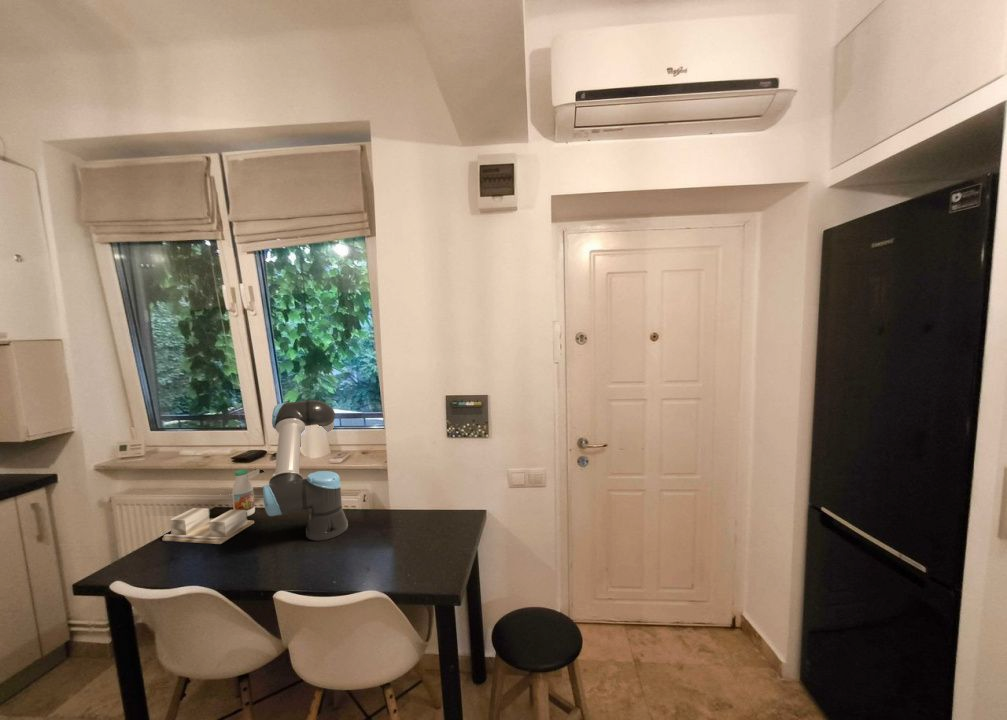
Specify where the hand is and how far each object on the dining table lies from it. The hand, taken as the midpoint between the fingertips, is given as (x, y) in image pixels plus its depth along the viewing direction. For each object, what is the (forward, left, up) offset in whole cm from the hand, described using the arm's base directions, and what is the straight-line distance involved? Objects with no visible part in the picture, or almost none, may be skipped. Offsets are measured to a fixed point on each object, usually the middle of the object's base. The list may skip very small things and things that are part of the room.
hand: (260, 477), depth 175 cm
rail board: (+2, +25, -13) cm, 28 cm away
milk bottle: (0, +10, -13) cm, 17 cm away
